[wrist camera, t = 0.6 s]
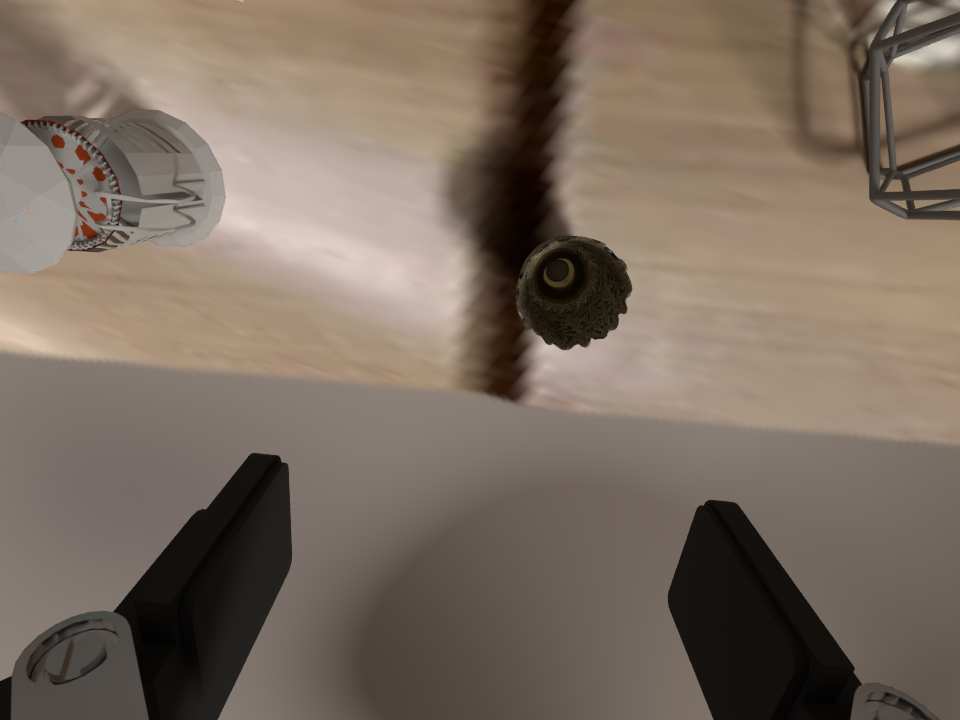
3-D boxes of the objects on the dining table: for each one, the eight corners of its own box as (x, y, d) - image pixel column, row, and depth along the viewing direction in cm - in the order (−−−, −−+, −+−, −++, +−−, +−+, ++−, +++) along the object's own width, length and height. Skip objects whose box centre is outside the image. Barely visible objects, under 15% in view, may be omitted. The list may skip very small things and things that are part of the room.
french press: (88, 93, 35) (-670, -34, 12) (253, 133, 36) (-162, 88, 13) (95, 231, 39) (-479, 336, 16) (245, 265, 40) (-91, 413, 17)
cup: (491, 273, 40) (492, 299, 32) (557, 201, 38) (574, 212, 30) (557, 333, 42) (572, 370, 34) (623, 267, 39) (655, 292, 32)
